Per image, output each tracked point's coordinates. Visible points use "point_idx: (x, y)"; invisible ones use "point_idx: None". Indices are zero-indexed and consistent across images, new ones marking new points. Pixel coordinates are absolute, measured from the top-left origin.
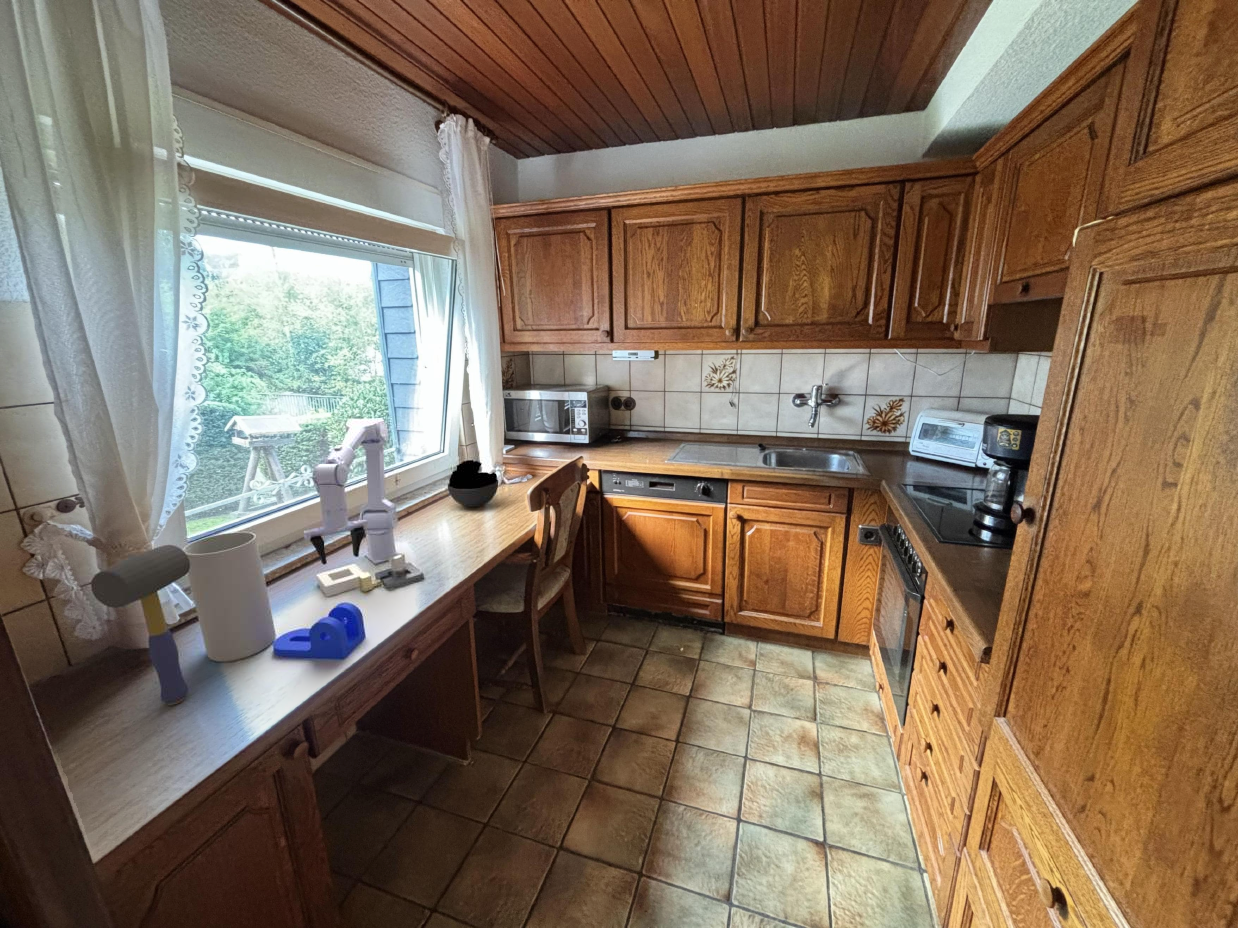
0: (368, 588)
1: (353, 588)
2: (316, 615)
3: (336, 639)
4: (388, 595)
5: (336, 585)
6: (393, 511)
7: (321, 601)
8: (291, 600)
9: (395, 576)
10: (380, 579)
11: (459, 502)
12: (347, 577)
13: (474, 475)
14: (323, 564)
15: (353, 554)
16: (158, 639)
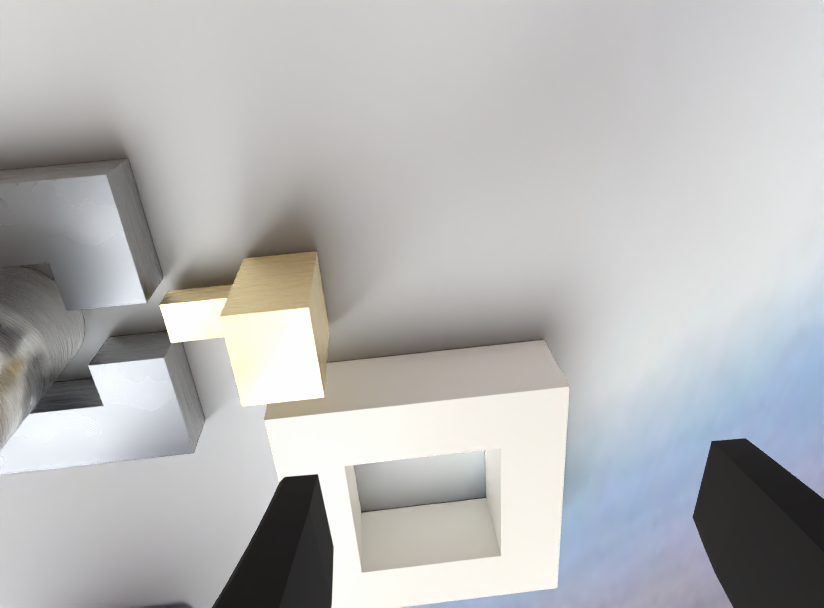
0: (275, 262)
1: (370, 358)
2: (698, 81)
3: None
4: (131, 51)
5: (489, 382)
6: None
7: (594, 294)
8: (717, 415)
9: (28, 302)
10: (166, 346)
11: None
12: (397, 445)
13: None
14: (748, 442)
15: (332, 556)
16: None
